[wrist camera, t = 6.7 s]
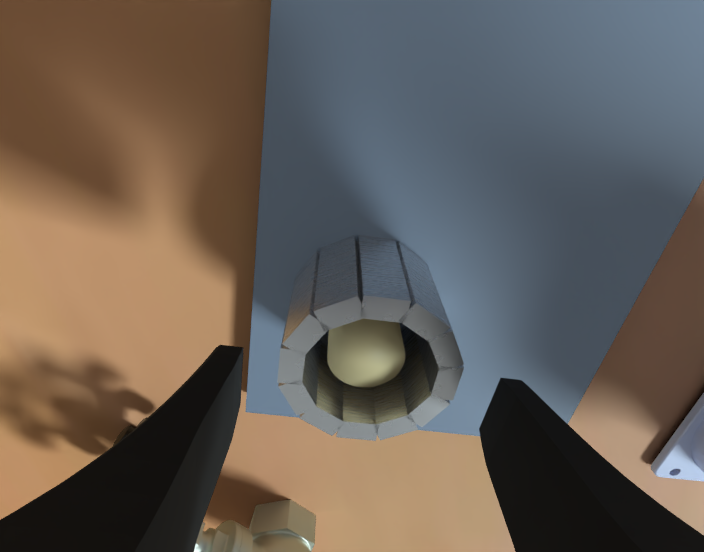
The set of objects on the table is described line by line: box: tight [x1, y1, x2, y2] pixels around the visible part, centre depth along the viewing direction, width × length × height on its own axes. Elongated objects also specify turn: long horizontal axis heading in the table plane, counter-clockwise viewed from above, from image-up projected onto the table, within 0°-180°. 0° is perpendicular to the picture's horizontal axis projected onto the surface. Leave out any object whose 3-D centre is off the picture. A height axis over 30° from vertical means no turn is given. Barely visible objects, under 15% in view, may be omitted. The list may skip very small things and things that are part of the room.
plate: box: [246, 0, 704, 436], centre depth 12 cm, size 14×24×4 cm, turn 171°
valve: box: [113, 418, 316, 552], centre depth 19 cm, size 7×7×12 cm
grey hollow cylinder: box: [277, 235, 464, 441], centre depth 14 cm, size 5×5×4 cm
